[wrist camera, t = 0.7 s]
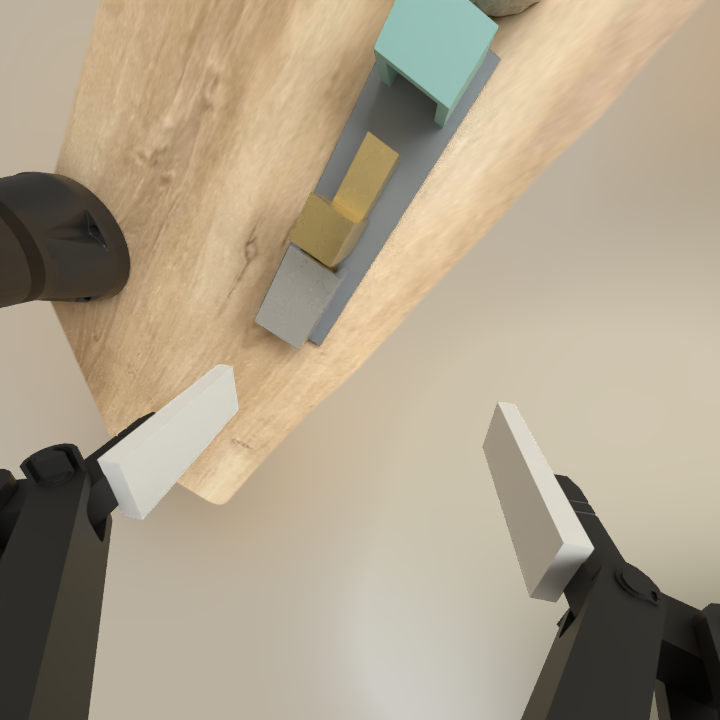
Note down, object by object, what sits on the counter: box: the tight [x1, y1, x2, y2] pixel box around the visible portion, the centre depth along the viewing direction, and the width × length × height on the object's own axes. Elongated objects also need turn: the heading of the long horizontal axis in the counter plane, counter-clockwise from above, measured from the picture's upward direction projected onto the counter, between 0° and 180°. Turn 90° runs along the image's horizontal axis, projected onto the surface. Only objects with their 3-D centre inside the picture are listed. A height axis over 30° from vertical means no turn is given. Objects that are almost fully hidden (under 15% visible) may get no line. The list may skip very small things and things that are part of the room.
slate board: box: [260, 49, 501, 346], centre depth 31 cm, size 9×32×1 cm, turn 148°
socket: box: [374, 0, 499, 128], centre depth 23 cm, size 7×5×6 cm
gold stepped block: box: [289, 131, 400, 273], centre depth 29 cm, size 4×20×9 cm, turn 147°
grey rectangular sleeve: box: [254, 244, 350, 350], centre depth 33 cm, size 6×10×5 cm, turn 148°
